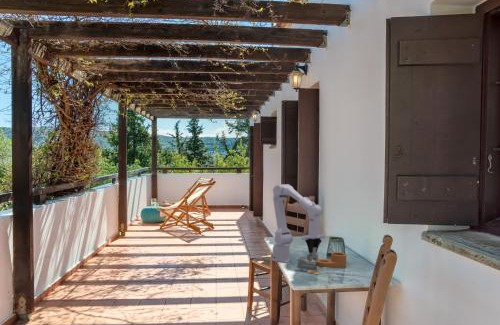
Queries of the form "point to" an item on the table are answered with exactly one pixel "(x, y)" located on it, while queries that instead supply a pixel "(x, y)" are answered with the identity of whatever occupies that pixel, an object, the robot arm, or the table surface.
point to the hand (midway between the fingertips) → (312, 252)
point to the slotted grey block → (312, 255)
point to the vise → (306, 263)
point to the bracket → (333, 261)
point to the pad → (313, 272)
